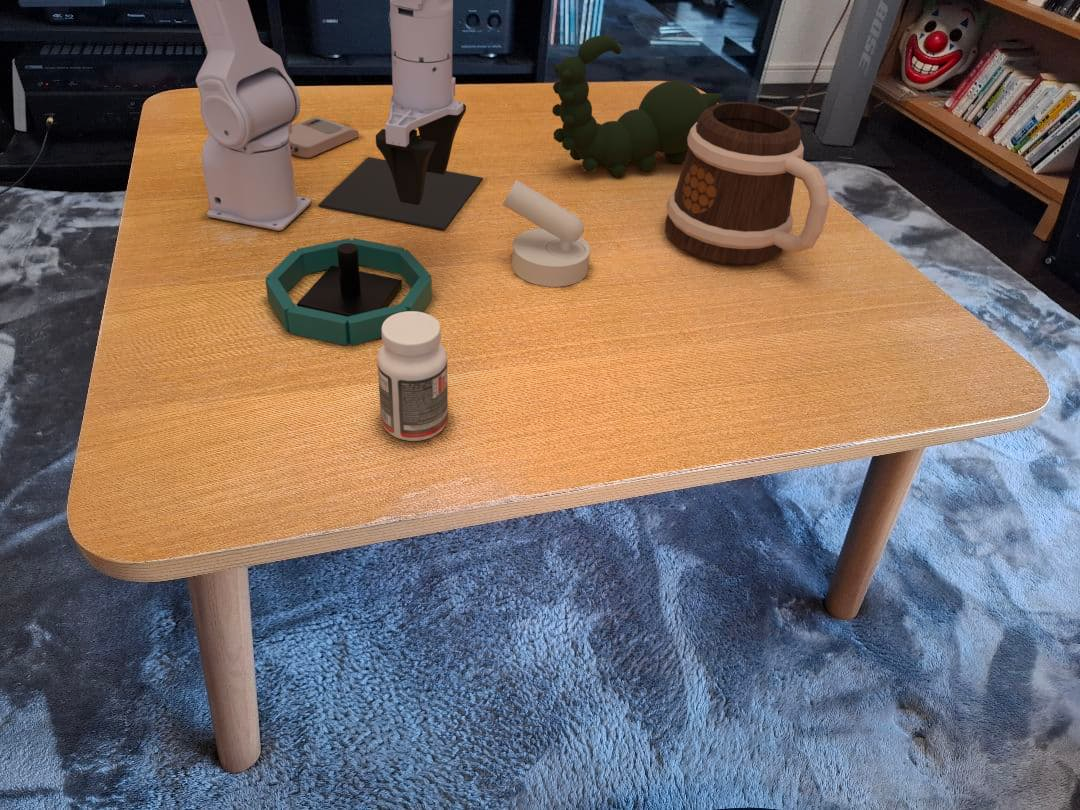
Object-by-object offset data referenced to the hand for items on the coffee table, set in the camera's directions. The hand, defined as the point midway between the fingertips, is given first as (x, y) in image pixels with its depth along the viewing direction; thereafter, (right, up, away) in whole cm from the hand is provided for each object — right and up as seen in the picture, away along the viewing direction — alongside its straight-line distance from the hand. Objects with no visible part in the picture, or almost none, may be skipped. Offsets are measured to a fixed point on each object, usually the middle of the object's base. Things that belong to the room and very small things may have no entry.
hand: (423, 186), depth 90 cm
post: (-7, -12, -1) cm, 14 cm away
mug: (+36, -4, +14) cm, 39 cm away
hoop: (-7, -12, -1) cm, 14 cm away
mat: (-5, +4, +18) cm, 19 cm away
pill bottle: (+1, -24, -15) cm, 29 cm away
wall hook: (+13, -7, +7) cm, 16 cm away
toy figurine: (+25, +10, +30) cm, 40 cm away
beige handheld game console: (-19, +13, +28) cm, 36 cm away
